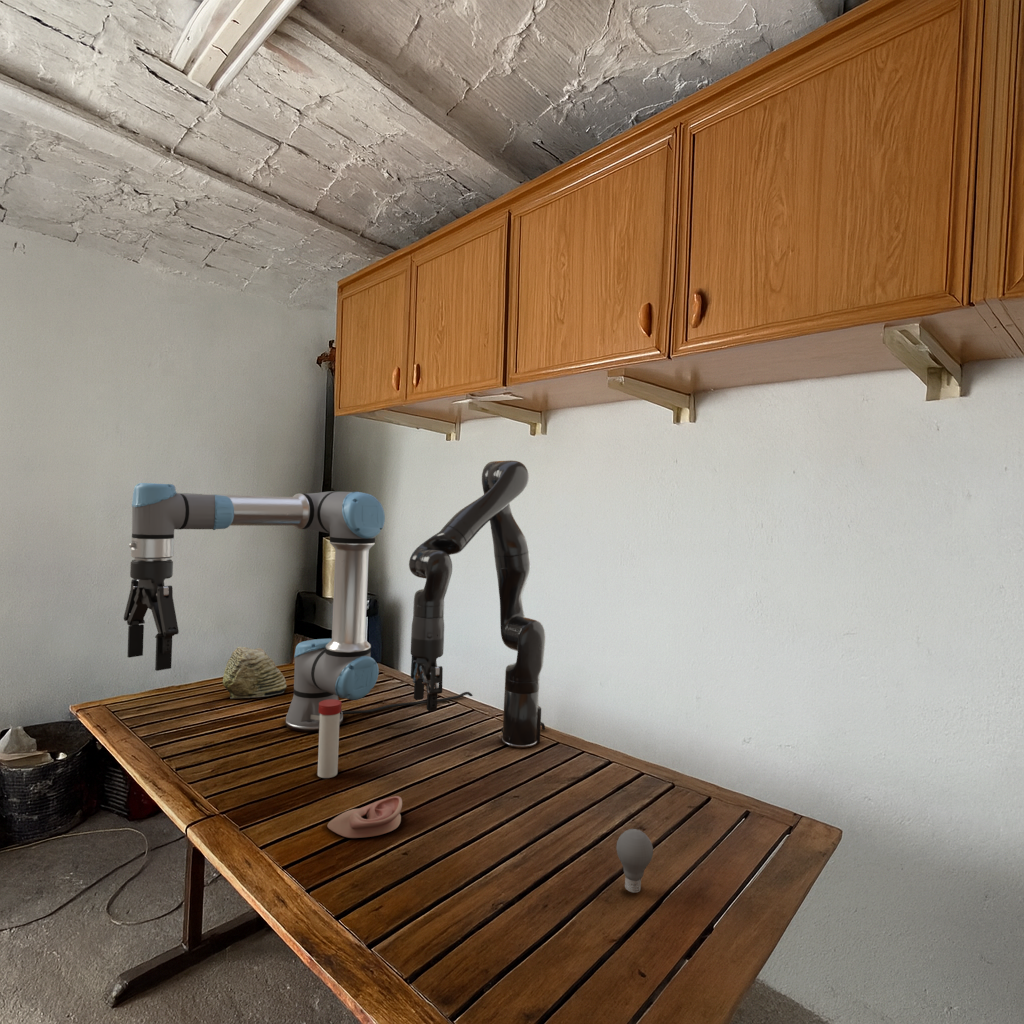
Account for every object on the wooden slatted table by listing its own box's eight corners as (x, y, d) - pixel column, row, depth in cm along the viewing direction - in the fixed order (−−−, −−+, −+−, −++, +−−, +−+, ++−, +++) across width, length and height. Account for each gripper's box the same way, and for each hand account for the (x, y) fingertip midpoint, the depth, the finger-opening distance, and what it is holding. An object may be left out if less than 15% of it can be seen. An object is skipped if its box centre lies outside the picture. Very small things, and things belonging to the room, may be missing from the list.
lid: (321, 716, 141) (321, 707, 141) (316, 709, 146) (316, 700, 146) (343, 713, 144) (343, 704, 143) (338, 706, 148) (338, 698, 148)
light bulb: (610, 879, 108) (613, 822, 108) (644, 879, 109) (647, 822, 109) (619, 902, 102) (622, 840, 102) (655, 901, 103) (658, 840, 103)
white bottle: (319, 779, 142) (322, 708, 142) (315, 771, 146) (318, 702, 145) (339, 776, 144) (342, 706, 144) (335, 768, 148) (337, 700, 147)
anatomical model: (320, 812, 119) (347, 786, 130) (319, 833, 119) (347, 805, 130) (386, 822, 116) (408, 795, 127) (385, 844, 116) (408, 814, 128)
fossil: (218, 695, 195) (220, 647, 195) (278, 685, 208) (279, 640, 207) (228, 703, 189) (230, 653, 188) (289, 692, 201) (290, 645, 201)
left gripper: (108, 554, 134) (104, 654, 134) (159, 565, 118) (155, 678, 119) (146, 552, 140) (143, 648, 140) (199, 563, 124) (195, 671, 124)
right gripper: (454, 640, 142) (452, 712, 142) (431, 627, 154) (429, 694, 154) (423, 642, 138) (420, 716, 138) (402, 629, 151) (399, 697, 151)
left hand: (148, 662), depth 129 cm, fingers open, 13 cm apart
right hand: (424, 704), depth 146 cm, fingers open, 8 cm apart
